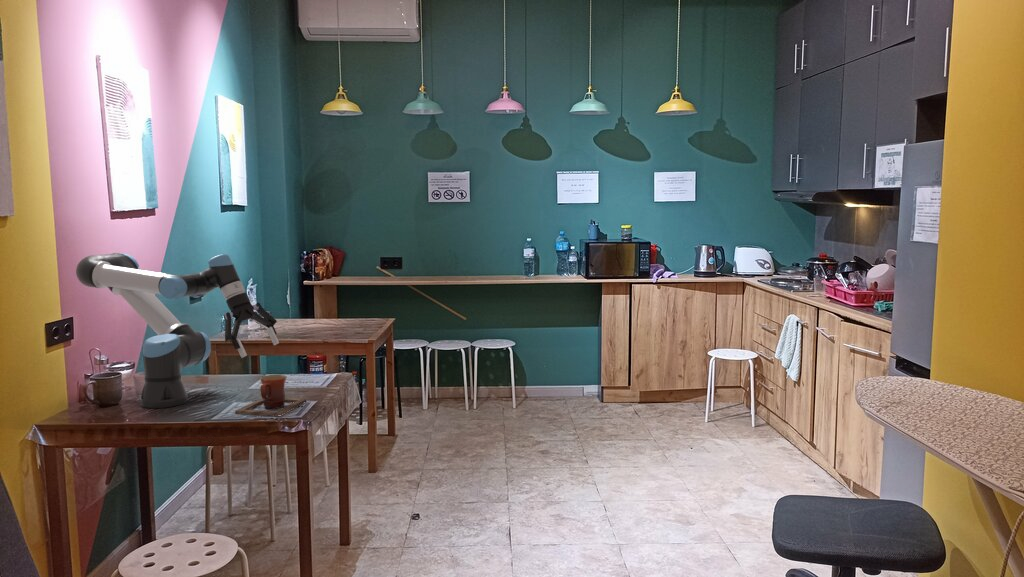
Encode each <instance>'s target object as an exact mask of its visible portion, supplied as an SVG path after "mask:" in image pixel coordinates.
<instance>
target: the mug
mask: <svg viewBox="0 0 1024 577" xmlns="http://www.w3.org/2000/svg"><path fill="white" fill-rule="evenodd" d="M259 381H260V383H261V385H260V391H259V392H260V397H261V398H263V403H262V404H263V407H264V408H266V409H269V408H271V409H273V408H275V409H280V408H282V407H284V406H285V405H286V402H285V398H286V390H285V389H286V388H285V385H286V381H287V375H284V374H267V375H264V376H261V377H259ZM279 407H280V408H279Z"/></svg>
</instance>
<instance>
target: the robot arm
mask: <svg viewBox="0 0 1024 577" xmlns="http://www.w3.org/2000/svg"><path fill="white" fill-rule="evenodd" d="M207 263H208V266H209V267H208V268H206V269H204V270H202V271H200V272H197V273H189V274H180V275H177V274H173V273H171V274H169V273H165V272H157V271H152V270H145V269H141V268H139V267H140V265H139V263H138V261H137V259H135V258H134V256H132V255H130V254H128V253H120V252H115V253H110V254H109V253H107V254H91V255H87V256H85V257H84V258H82V259H81V260H80V261H79V262H78V264H77V266H76V267H75V268H76V269H75V274H76V277H77V279H78V281H79V282H80V283H81V284H82V285H84V286H86V287H89V288H96V289H105V288H108V290H110V291H111V293H113V295H116V296H118V295H119V296H121V297H122V298H123V299H124V300H125V301H126V302H127V303H128V305H130V307H131V308H132V309H133V310H134V311H135V312H136V313H137V314H138V315H139V316H140V317H141V318H142V319H143V320H144V322H145V323H146V324H147V325H148V326H149V328H151V329H152V331H154V332H155V334H157V335H154V336H151V337H149V338H147V339H145V340H144V341H143V344H142V347H143V349H142V356H143V369H144V370H143V372H144V373H143V374H144V384H143V387H142V391H141V396H140V398H139V403H140V404H139V405H140V407H142V408H147V409H148V408H149V409H163V408H171V407H175V406H181V405H184V404H185V403H187V402H188V397H189V395H188V392H187V389H186V388H185V385H184V383H183V380H182V369H184V368H187V367H191V366H197V365H199V364H201V363H203V362H205V361H206V360H207V359H208V358H209V356H210V355H211V351H212V349H211V347H212V344H211V340H210V338H209V336H208V335H207V334H206V333H205V332H204V331H203V332H202V331H198V330H194V329H193V328H192V327H191V326H190V324H188V323H181V321H179V319H178V318H177V317H176V316H175V315H174V314H173V313H172V312H171V310H169V309H168V308H167V306H165V305H164V304H163V302H162V301H161V300H160V299H159V298H158V297H157V295H159V296H163V297H164V298H166V299H170V300H171V299H173V300H174V299H175V300H176V299H180V298H185V297H191V298H194V299H198V298H201V297H204V296H206V295H207V294H209V293H210V292H212V291H213V290H215V289H217V288H219V289H220V291H221V294H222V296H223V298H224V300H226V305H227V308H228V309H229V310H230V312H229V311H227V312H226V313H224V314H223V318H224V341H225V342H230V343H232V345H233V347H234V349H235V350H237V352H238V353H239V355H240V359H244V358H245V357H246V356H247V355H248V354H247V352H246V350H245V347H244V345H243V344H242V341H241V339H240V338H238V334H239V330H240V327H241V324H242V323H243V322H244V321H248V320H254V321H255V322H258V323H259V324H261V325H263V326H264V327H266V331H267V333H268V336H269V338H270V340H271V342H272V345H273V346H276V345H278V344H280V342H279V339H278V337H277V334H278V333H277V331H276V328H275V327H274V326H275V325H276V323H278V321H277V320H276V318H275V317H273V316H272V315H271V314H270V313H269V312H268V311H267V310H266V309H264V308H263V306H262V304H261V303H260V302H256V303H255V304H251V300H250V298H249V296H248V293H247V292H246V289H245V287H244V284H243V283H242V281H241V278H240V277H239V274H238V272H237V270H236V268H235V265H234V263H233V261H232V259H231V257H230V255H228V254H227V253H222V254H218V255H216V256H213V257H211V258H210V259H209V260H208V262H207ZM255 311H256V312H255ZM232 318H234V322H233V323H234V325H233V327H232V324H233V323H232Z"/></svg>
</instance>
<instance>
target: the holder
mask: <svg viewBox="0 0 1024 577" xmlns="http://www.w3.org/2000/svg"><path fill="white" fill-rule="evenodd" d="M289 402H292V403H289ZM293 402H294V403H293ZM304 402H305V403H306V402H307V398H296V397H295V398H294V397H293V398H291V397H285V403H289V404H288V405H287V406H285V407H283V408H281V409H279V410H276V411H275V410H257V409H253V408H256V407H258V406H260V405H262V404H263V398H262V397H261V398H259V399H257V400H255V401H252V402H251V403H249V404H246V405H245V406H242V407H241V408H238V409H235V411H234V413H236V414H235V415H248V414H250V415H251V416H265V415H274V416H273V417H279V416H278V415H282V414H283V415H285V414H287V413H288V412H287V411H289V410H291V409H292V410H294V409H296V408H298V407H300V406H301V405H303V404H305V403H304ZM299 405H300V406H299ZM297 406H298V407H297ZM295 407H296V408H295ZM293 408H294V409H293ZM292 410H291V411H292ZM286 412H287V413H286ZM289 412H290V411H289ZM284 413H285V414H284ZM250 415H249V416H250ZM275 415H277V416H275ZM283 415H282V416H283Z"/></svg>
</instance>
